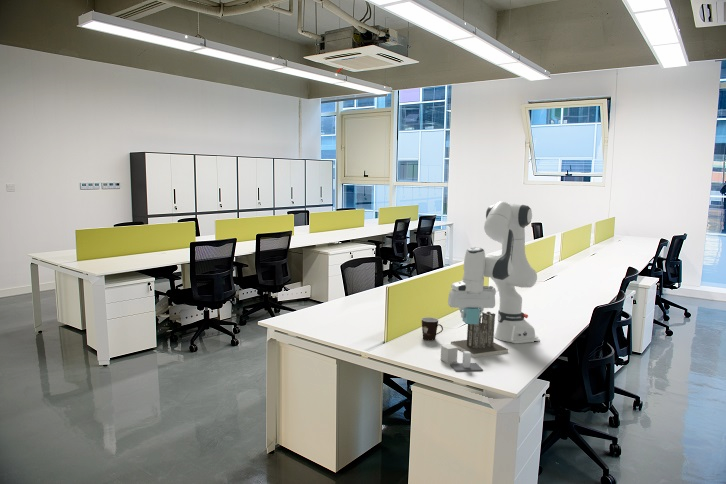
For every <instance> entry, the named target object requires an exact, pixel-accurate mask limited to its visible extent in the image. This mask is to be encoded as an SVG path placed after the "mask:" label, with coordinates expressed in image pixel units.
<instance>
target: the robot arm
mask: <svg viewBox="0 0 726 484" xmlns="http://www.w3.org/2000/svg"><path fill="white" fill-rule="evenodd" d="M532 212H533V211H532V208H530V206H529V205H526V204H515V203H508V202H506V201H499V202H496V203H494V204H491V205H490V206H488V207H487V209H486V212H485V221H484V225H483V230H484V232H485V234H486V236H487V237H489V239H491V240H492V241H495V242H498V243H500V244H501V254H499V255H493V254H486V252H485V248H481V247H476V246H475V247H469V248H467V249H466V251H465V254H464V261H463V276H462V280H460V281H455V282H452V283H451V284H450V286H451V289H450V291H449V292H448V298H447V305H448V307H450V308H452V309H453V308H458V310H459V313H460V318H461V319H463V318H465V317H466V314H465V313H463V310H464V308H479V318H480V316H481V317H482V312H484V309H494V308H495V306H496V295H497V294H496V293H497V291H498V295H499V309H498V312H497V313H498V314H497V326H496V330H495V332H494V339H497V340H500V341H504V342H506V343H507V342H508V343H512V344H526V343H535V342H534V341H538V342H540V338H539V336H538V335H536V331H535V327H534V326H532V324H530V323H529V322H528V321H527V319H528V318H529V315H528V314H527V313H524V312H522V308H523V297H522V295H521V294H520V293H518V291H517V290H516V288H517V287H518V288H521V289H522V288H525V289H527V288H528V289H529V288H530V289H531V288H533V287H534V286H535V284H536V283H537V280H538V274H537V272H536V270H535V269H534V268H533V267H532V266H531V264H530V263H529V261H528V258H527V256H526V255H527V254H526V246H525V245H526V242H525V241H526V232H525V228H526V227H528V225H531V224H530V223H531V222H532V219H533V213H532ZM485 278H490V279H491V280H492V281H493V282H494V284H495V285H496V288H497V289H496V288H495V287H494V286H492V285H490V286H489V285H488V286H487V285H484V284H485ZM515 287H516V288H515ZM496 290H497V291H496Z"/></svg>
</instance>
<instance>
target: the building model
mask: <svg viewBox="0 0 726 484" xmlns="http://www.w3.org/2000/svg"><path fill="white" fill-rule="evenodd" d="M495 323H496V313H492V312H491V311H486V313H485V312H484V311H483V312H482V313H481V316H480V318H479V323H478V324H467V332H466V335H467V336H466V339H463V340H455V341H450V344H452V345H454V346H456V347H458V350H459V351H461V352H463V351H469V352H470V353H471V358H479V357H485V356H494V355H501V354H508V352H509V349H508V348H507V347H504V346H502V345H500V344H498V343H496V342H494V339H495V336H494V335H495Z"/></svg>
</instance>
